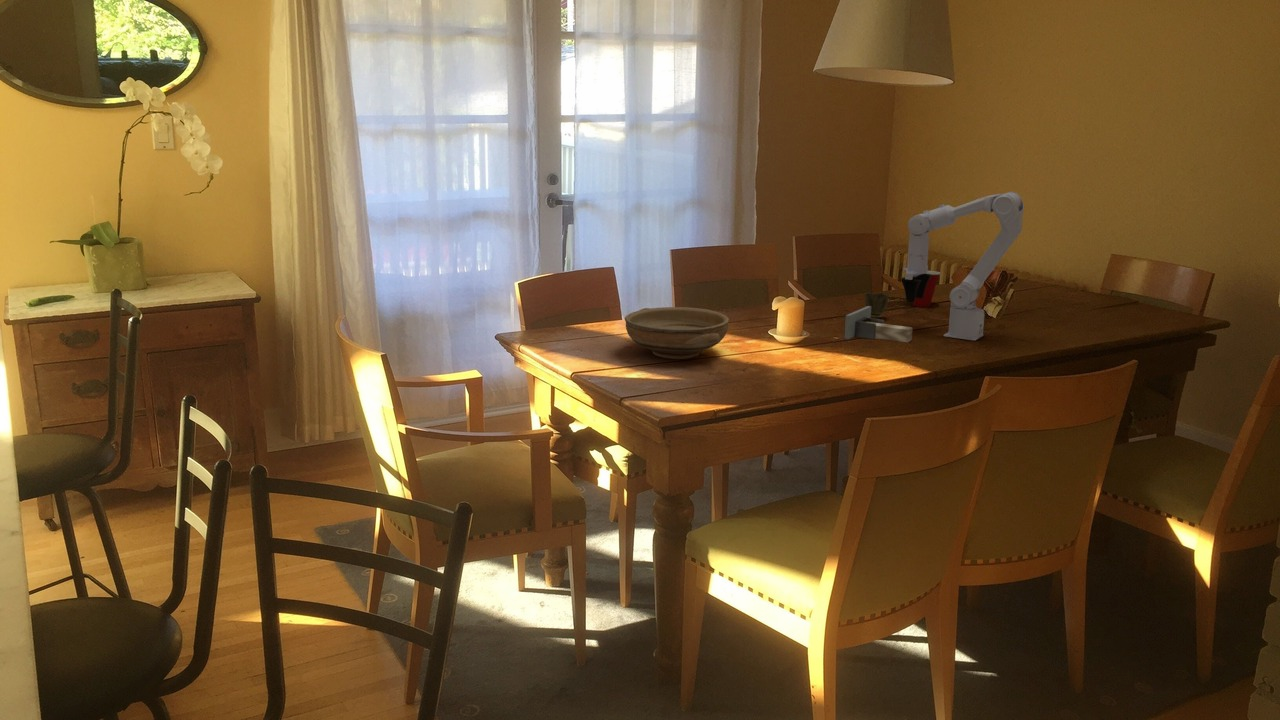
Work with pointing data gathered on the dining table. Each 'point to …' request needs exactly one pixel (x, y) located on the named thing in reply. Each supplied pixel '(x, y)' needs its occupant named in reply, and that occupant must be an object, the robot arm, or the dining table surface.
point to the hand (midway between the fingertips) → (914, 299)
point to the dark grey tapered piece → (876, 303)
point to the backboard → (853, 318)
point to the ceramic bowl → (676, 330)
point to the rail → (893, 332)
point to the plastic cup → (928, 291)
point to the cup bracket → (866, 327)
